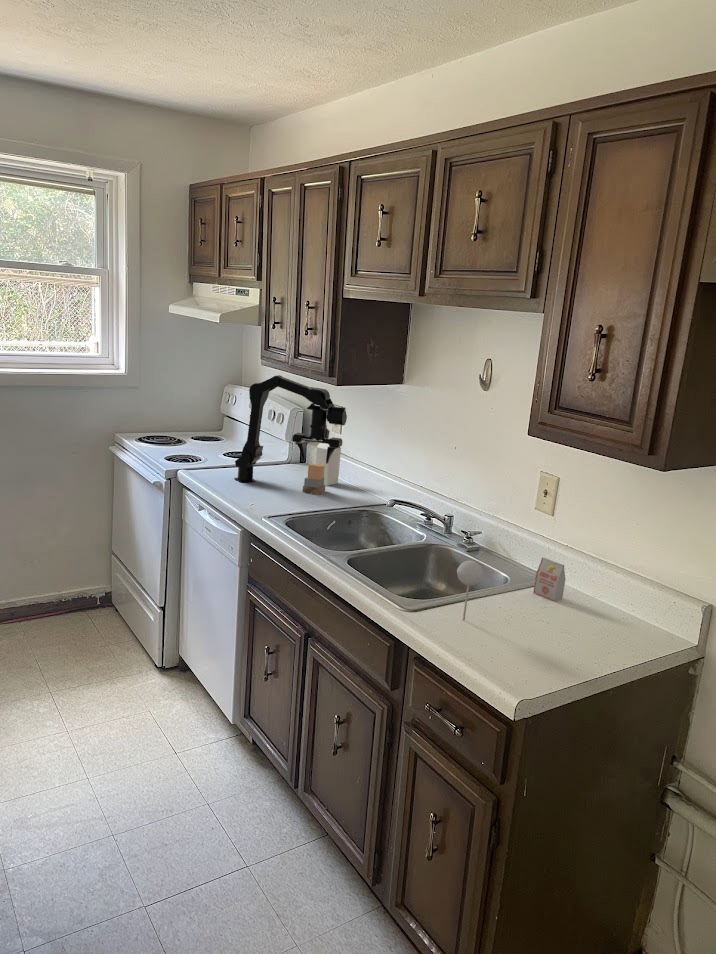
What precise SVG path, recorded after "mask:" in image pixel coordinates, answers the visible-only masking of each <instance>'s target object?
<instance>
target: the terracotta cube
mask: <svg viewBox="0 0 716 954" xmlns="http://www.w3.org/2000/svg"><path fill="white" fill-rule="evenodd" d="M324 467H325V465H319V464H316V463H311V464H309V465H308V468H307V477H308V479H314V480H321V479H322V478H324Z"/></svg>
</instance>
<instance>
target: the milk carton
mask: <svg viewBox="0 0 716 954" xmlns="http://www.w3.org/2000/svg"><path fill="white" fill-rule="evenodd" d="M331 438H332V437H329V438H328V439H331ZM325 439H326V438H325ZM328 447H329V444H325V443H318V445H317V446H316V451H315V452H316V453H315V464H319V465H325V467H324V485H326V486H327V487H328V486H332V485H333V486H334V485H337V484H338V483H339V476H340V473H339V472H340V462H341V453H342V452H341V451H342V450H341V449H342V448H341V446H340V447H338V448H336V449H335V450H334V451H333V453H332V455H331V457H330V460H329V462H328V464H326V457H327V448H328ZM326 486H325V487H326Z"/></svg>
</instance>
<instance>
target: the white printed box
mask: <svg viewBox="0 0 716 954" xmlns="http://www.w3.org/2000/svg"><path fill="white" fill-rule="evenodd" d="M535 573H536V574H535V580H534V586H533V592H532V593H533V594H535V595H536V596H540V597H542V598H544V599H546V600H549V601H551V602H553V603H555V602H559V601H562V600H563V597H564V592H565V584H566V574H565V573H566V572H565V564H561V563H559V562H557V561H554V560H551V559H549V558H546V557H541V560H540V563H539V566H538V568H537V571H536V572H535Z"/></svg>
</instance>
